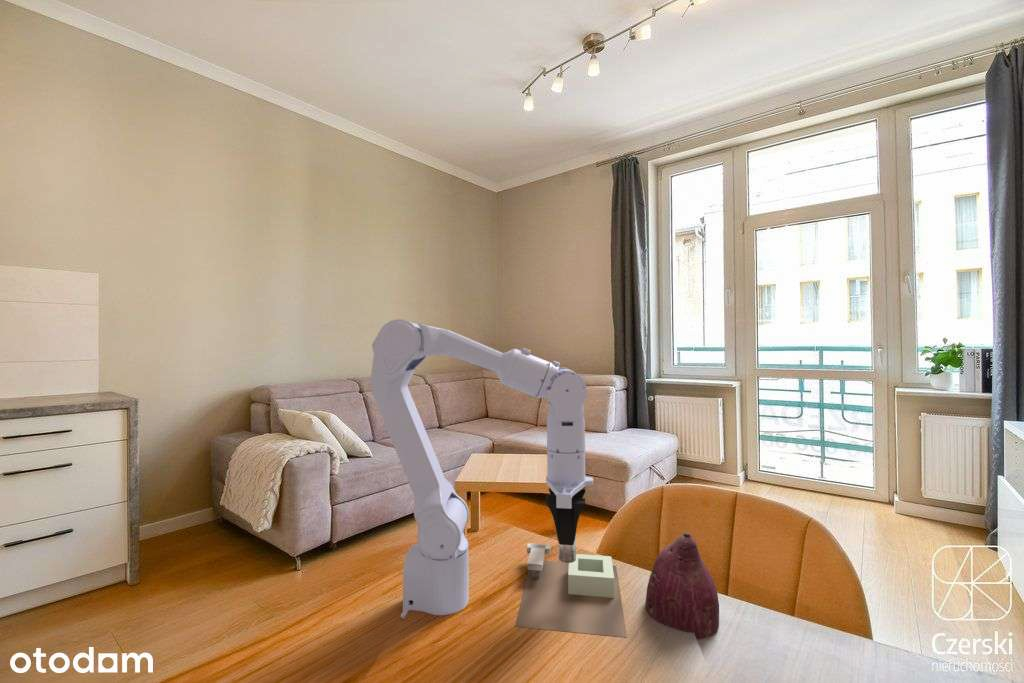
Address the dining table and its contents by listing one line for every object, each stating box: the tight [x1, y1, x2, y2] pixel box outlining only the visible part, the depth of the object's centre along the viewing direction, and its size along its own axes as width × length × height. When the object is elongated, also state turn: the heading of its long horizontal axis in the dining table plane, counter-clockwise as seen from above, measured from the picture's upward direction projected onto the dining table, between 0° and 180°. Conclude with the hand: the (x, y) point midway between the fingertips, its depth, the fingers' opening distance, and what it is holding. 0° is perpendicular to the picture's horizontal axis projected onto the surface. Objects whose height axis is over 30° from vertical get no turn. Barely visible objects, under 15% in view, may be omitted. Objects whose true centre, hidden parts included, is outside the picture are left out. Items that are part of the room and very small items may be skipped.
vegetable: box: [645, 531, 720, 641], centre depth 63 cm, size 10×10×15 cm
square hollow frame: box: [568, 553, 614, 598], centre depth 71 cm, size 7×7×3 cm
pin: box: [558, 535, 577, 563], centre depth 66 cm, size 3×3×7 cm
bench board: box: [514, 542, 628, 639], centre depth 69 cm, size 16×19×4 cm
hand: (566, 539), depth 66 cm, fingers closed on pin, 3 cm apart
